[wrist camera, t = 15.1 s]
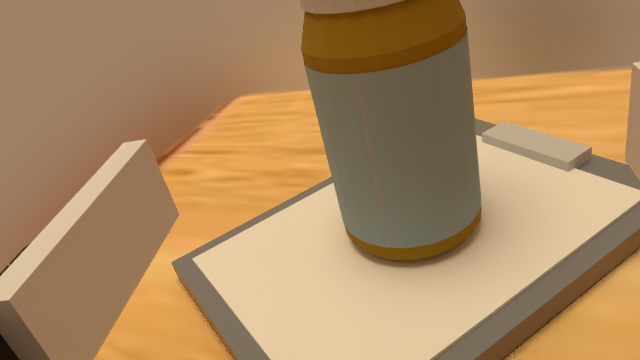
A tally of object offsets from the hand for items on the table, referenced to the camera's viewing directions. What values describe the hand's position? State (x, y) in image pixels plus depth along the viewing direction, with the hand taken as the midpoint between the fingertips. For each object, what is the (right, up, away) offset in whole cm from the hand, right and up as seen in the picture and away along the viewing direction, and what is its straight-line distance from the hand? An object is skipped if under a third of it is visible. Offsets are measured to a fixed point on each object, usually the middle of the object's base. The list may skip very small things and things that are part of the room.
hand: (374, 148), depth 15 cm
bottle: (+3, -3, +13) cm, 14 cm away
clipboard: (+4, -4, +14) cm, 15 cm away
